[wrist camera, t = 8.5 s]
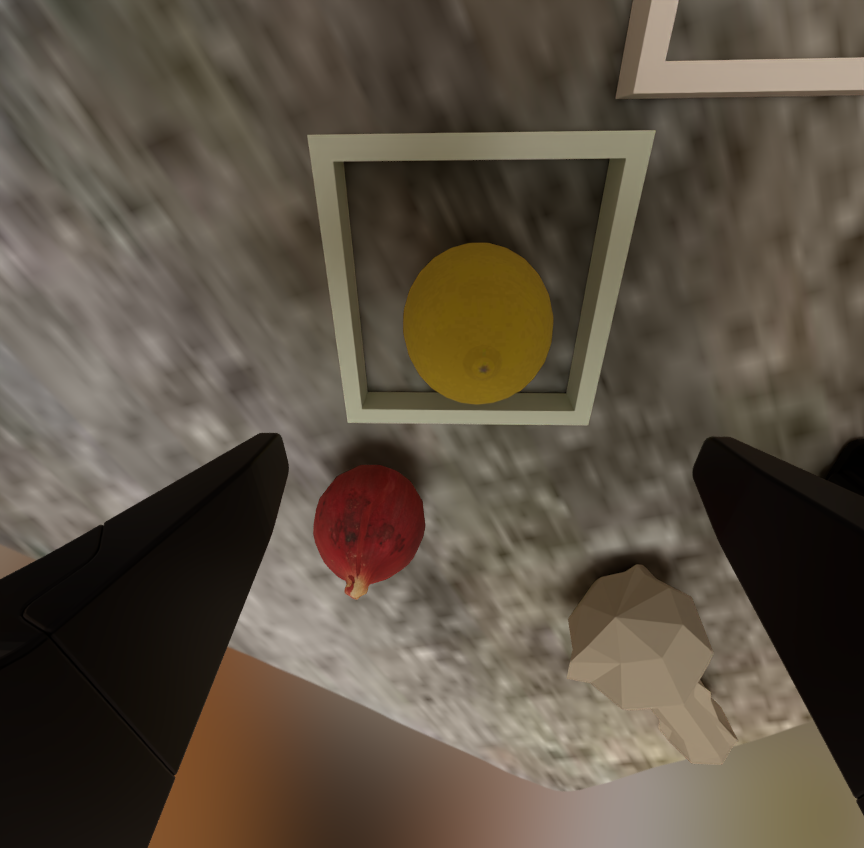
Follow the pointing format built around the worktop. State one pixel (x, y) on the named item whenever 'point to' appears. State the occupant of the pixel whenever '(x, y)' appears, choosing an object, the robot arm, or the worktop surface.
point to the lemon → (478, 323)
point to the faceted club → (650, 659)
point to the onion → (368, 526)
